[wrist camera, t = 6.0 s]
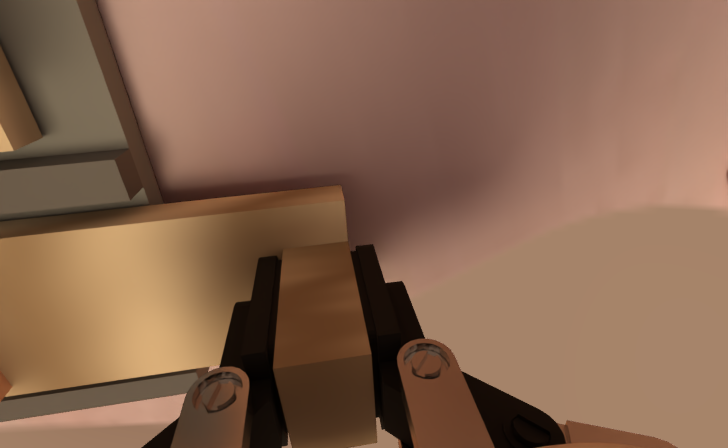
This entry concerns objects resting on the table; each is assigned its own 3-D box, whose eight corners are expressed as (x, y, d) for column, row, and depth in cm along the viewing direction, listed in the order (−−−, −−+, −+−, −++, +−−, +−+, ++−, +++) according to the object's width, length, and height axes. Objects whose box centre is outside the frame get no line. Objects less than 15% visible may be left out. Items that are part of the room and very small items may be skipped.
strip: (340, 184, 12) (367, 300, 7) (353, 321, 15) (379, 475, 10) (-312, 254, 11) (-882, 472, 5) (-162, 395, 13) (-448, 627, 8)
